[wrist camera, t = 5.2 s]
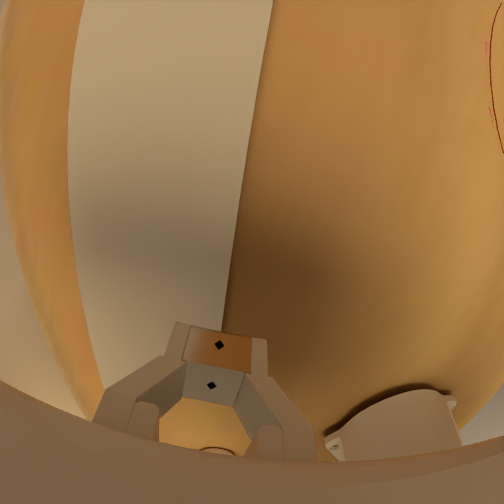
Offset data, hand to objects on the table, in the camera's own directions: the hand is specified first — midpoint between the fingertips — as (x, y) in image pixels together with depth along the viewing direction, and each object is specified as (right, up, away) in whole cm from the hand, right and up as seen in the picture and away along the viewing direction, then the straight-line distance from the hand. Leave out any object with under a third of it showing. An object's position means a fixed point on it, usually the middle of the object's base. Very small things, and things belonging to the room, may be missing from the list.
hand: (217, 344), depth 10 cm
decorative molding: (0, +6, +11) cm, 12 cm away
